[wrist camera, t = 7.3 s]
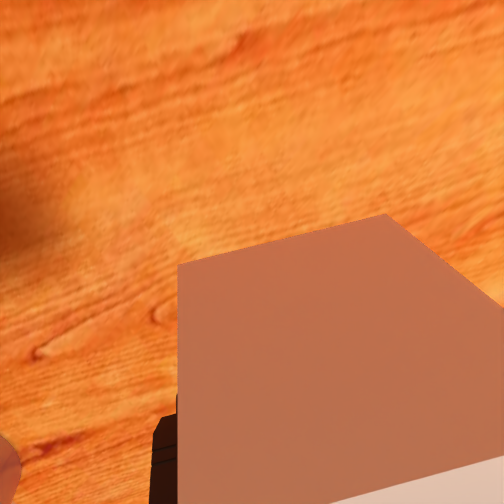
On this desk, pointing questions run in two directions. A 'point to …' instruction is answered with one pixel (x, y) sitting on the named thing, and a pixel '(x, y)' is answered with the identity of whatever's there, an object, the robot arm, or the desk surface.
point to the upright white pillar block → (338, 374)
